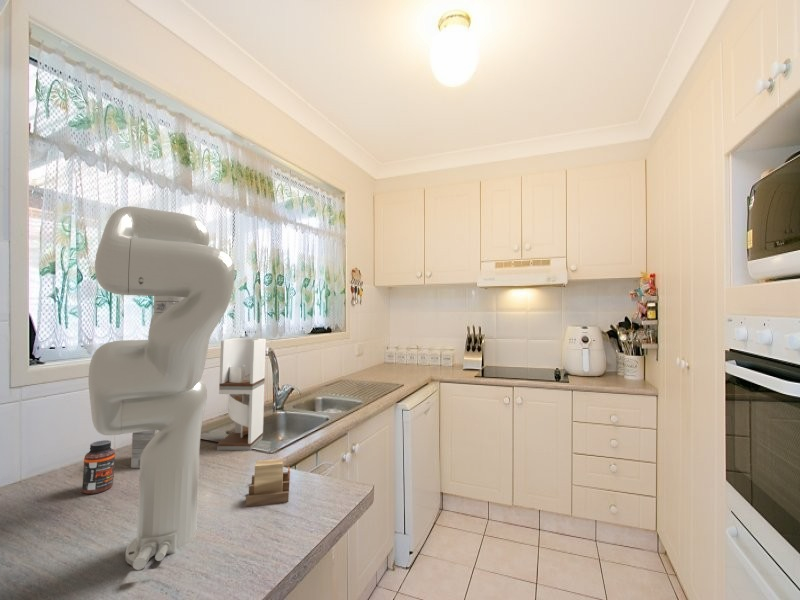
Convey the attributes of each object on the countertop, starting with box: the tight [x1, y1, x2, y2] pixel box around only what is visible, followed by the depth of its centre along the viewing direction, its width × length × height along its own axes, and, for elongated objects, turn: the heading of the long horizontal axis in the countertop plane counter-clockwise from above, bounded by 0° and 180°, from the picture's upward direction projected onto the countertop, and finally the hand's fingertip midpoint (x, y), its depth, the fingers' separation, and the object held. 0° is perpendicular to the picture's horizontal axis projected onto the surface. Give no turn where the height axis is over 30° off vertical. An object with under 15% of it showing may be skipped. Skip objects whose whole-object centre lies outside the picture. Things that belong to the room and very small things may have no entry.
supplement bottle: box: [81, 439, 116, 495], centre depth 90 cm, size 6×6×11 cm
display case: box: [216, 337, 267, 451], centre depth 123 cm, size 11×11×35 cm
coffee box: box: [130, 430, 159, 469], centre depth 107 cm, size 9×6×16 cm
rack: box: [245, 466, 291, 508], centre depth 87 cm, size 11×9×6 cm
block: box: [254, 458, 284, 495], centre depth 84 cm, size 3×6×8 cm, turn 105°
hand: (168, 378), depth 90 cm, fingers open, 9 cm apart
